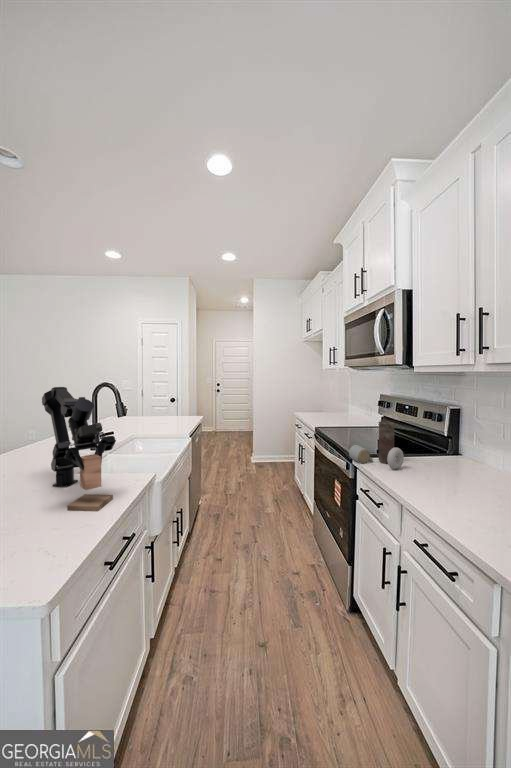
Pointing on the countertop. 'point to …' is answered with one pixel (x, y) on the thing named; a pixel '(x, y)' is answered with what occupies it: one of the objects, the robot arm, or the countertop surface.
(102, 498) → the base board
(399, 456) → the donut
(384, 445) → the candle
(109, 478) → the countertop surface
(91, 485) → the pillar
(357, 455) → the grey cylinder
